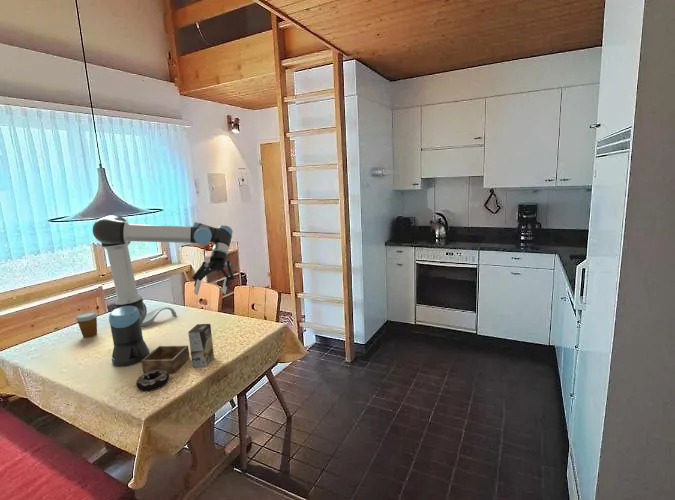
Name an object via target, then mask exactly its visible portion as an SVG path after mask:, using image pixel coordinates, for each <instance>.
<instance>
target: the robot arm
mask: <svg viewBox="0 0 675 500" xmlns="http://www.w3.org/2000/svg"><path fill="white" fill-rule="evenodd" d="M233 233H234V232H233V229H232V228H231V227H230V226H228V225H223V224H222V225H219V226H218V227H213V226H211V225H207V224H203V223H201V222H196V221H195V222H193V223H192V226H184V225H183V226H178V225H161V224H157V225H156V224H142V223H141V224H137V223H135V224H134V223H130V222H128V221H127V219H125V218H124V217H122V216H121V215H117V214H114V215H113V214H110V215H107V216H105V217H101V218H99V219H97V220H96V221H95V222H94V223H93V225H92V235H93V236H94V238H95V240H97V241H98V242H100V243H101V247H102V248H103V249H105V250H106V253H107V257H108V261H109V265H110V270H111V275H112V279H113V284H114V289H115V292H116V297H117V298H116V300H115V302H114V304H115V309H113V310H111V312H110V313H109V315H108V316H109V317H108V323H109V326H110V332H111V336H112V337H111V338H112V342H113V349H112V355H111V363H112V365H113V366H115V367H127V366H133V365H136V364H138V363H140V362H141V361H142V360H143V359H144V358H145V357H146V356H148V355H149V354H150V353H151V352H150V349H149V347H148V345H147V344H146V341H144V336H143V331H142V326H141V324H142V322H143V320H144V319H145V317H146V314H147V313H148V312H147V311H148V309H147V306H146V304H145V303H144V300H143V296H142V295H140V294H139V293H138V288H137V285H136V280H135V274H134V269H133V264H132V260H131V256H130V250H129V245H130V244H131V242H140V243H141V242H144V243H145V242H146V243H147V242H148V243H179V244H180V243H182V244H184V243H185V244H188V243H189V244H199V245H207V244H209V243H213V246H212V250H211V253H210V257H209V261H208V262H206V261H202V263H201V266H199V268H198V270H197V271H196V272H195V273H194V275H193V276H192V277H191V278H192V279H193V281H194V285H193V287H194V289H193V293H194V294H195V295H196V296H197V295H199V291H200V288H201V285H202V282H201V281H202V280H203V279H204V278H206V276H208V275H209V274H211V273H212V272H222V274H223V276H224V277H225V278H224V279H223V284H222V287H221V292H222V293H223V294H224V295H226V293H227V290H228V287H229V286H230V283H231V281H232V280H234V281H235V277H236V276H235V275H234V272H233V268H232V262H231V261H230V260H227V259H228V258H227V257H228V254H229V249H230V246H231V241H232V238H233ZM224 267H226V268H227V270H228V273H227V272H226V270H225V269H224ZM228 274H229V275H228ZM141 363H142V362H141Z"/></svg>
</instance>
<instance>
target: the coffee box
mask: <svg viewBox="0 0 675 500" xmlns="http://www.w3.org/2000/svg"><path fill="white" fill-rule="evenodd" d="M187 333H188V340H189V349H190V350H189V351H190V356H191V357H190V358H191V365H192V368H199V367H200V368H203V367H204V368H206V367H207V366H208V365H209V364H210V363H211V361H213V359H214V358H215V353H214V345H213V343H214V342H213V335H212V327H211V323H201V324H199V323H198V324H196V325H194V326H193V327H192V328H191V329H190V330H189V331H187Z"/></svg>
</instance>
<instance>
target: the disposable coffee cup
mask: <svg viewBox="0 0 675 500" xmlns="http://www.w3.org/2000/svg"><path fill="white" fill-rule="evenodd" d="M75 321H76V322H77V325H78V326H79V329H80V332H81V334H82V337H83V338H84V339H89V338H93V337H95V336H97V335H98V322H97V321H98V314H97V312H96V311H87V312H82V313H79V314H77V315H76V317H75Z"/></svg>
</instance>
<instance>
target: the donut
mask: <svg viewBox="0 0 675 500" xmlns="http://www.w3.org/2000/svg"><path fill="white" fill-rule="evenodd" d="M169 379H170V376H169V374H168V373H167V372H166V371H164V370H153V371H149V372H147V373H145V374H143V373H142V374H141V375H140V376H139V377H138V378H137V379H136V380H135V381H136V382H135V386H136V388H137V390H140V391H142V392H150V391H154V390H158V389H160V388H162V387H164V386H165V385H166V384H167V383H168V381H169Z"/></svg>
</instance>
